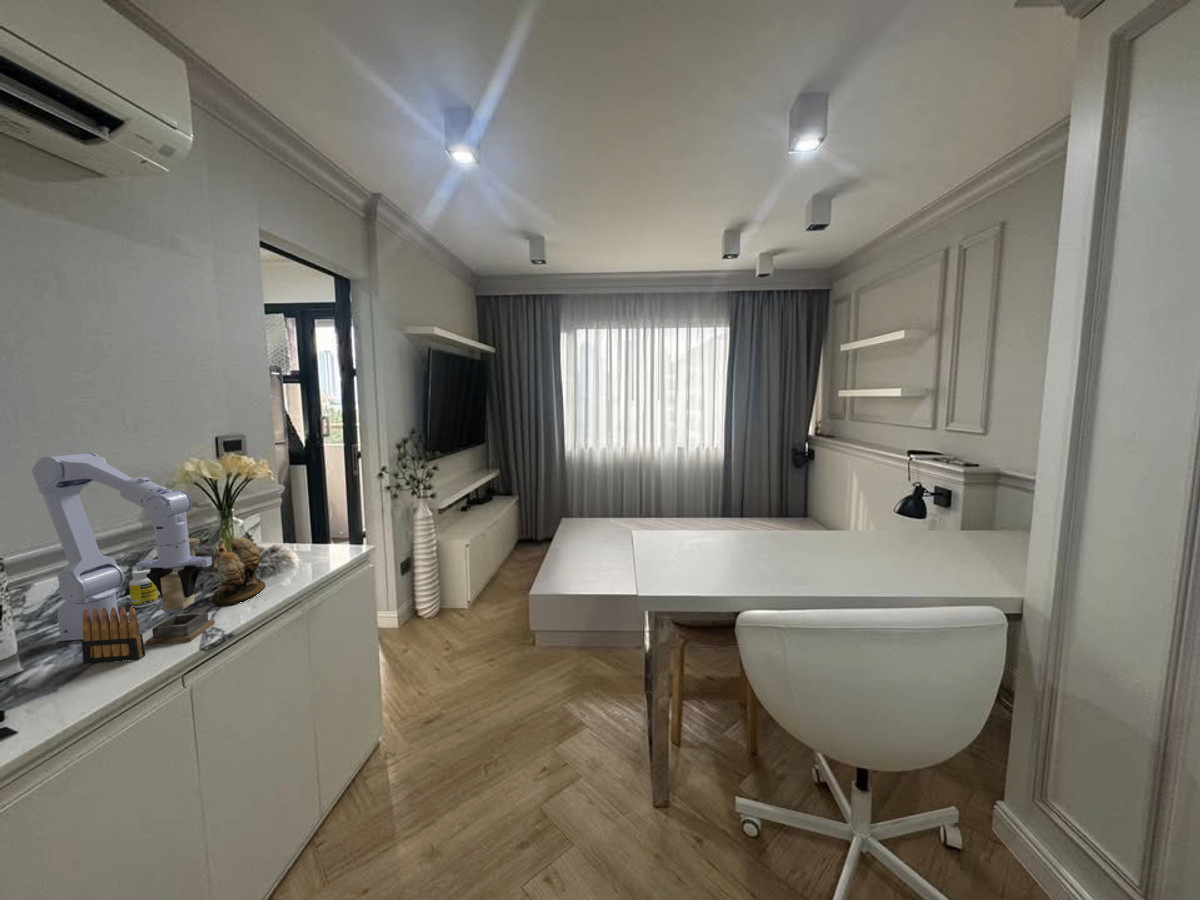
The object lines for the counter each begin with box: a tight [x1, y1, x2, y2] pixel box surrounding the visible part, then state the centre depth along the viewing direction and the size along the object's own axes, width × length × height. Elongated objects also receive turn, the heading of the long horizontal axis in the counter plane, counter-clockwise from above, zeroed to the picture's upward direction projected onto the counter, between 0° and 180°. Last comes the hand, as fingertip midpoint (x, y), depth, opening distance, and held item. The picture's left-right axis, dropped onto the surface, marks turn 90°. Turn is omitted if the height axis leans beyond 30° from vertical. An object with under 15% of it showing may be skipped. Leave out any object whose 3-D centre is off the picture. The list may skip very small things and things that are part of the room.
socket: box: [145, 611, 216, 646], centre depth 111 cm, size 9×9×4 cm
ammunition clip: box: [81, 605, 146, 665], centre depth 100 cm, size 11×2×12 cm, turn 98°
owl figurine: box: [210, 537, 266, 607], centre depth 134 cm, size 18×12×17 cm, turn 22°
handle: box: [179, 537, 200, 581], centre depth 138 cm, size 5×6×15 cm
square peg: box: [161, 571, 196, 611], centre depth 110 cm, size 4×4×8 cm
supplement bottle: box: [128, 569, 159, 609], centre depth 128 cm, size 5×5×10 cm
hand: (178, 596), depth 111 cm, fingers closed on square peg, 4 cm apart
